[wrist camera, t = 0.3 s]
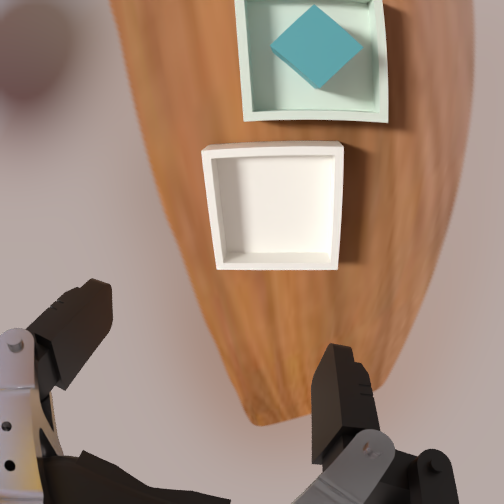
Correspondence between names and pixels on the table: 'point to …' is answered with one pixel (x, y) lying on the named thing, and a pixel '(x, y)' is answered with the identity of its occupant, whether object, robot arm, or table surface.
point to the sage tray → (292, 84)
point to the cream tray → (275, 204)
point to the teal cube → (315, 47)
